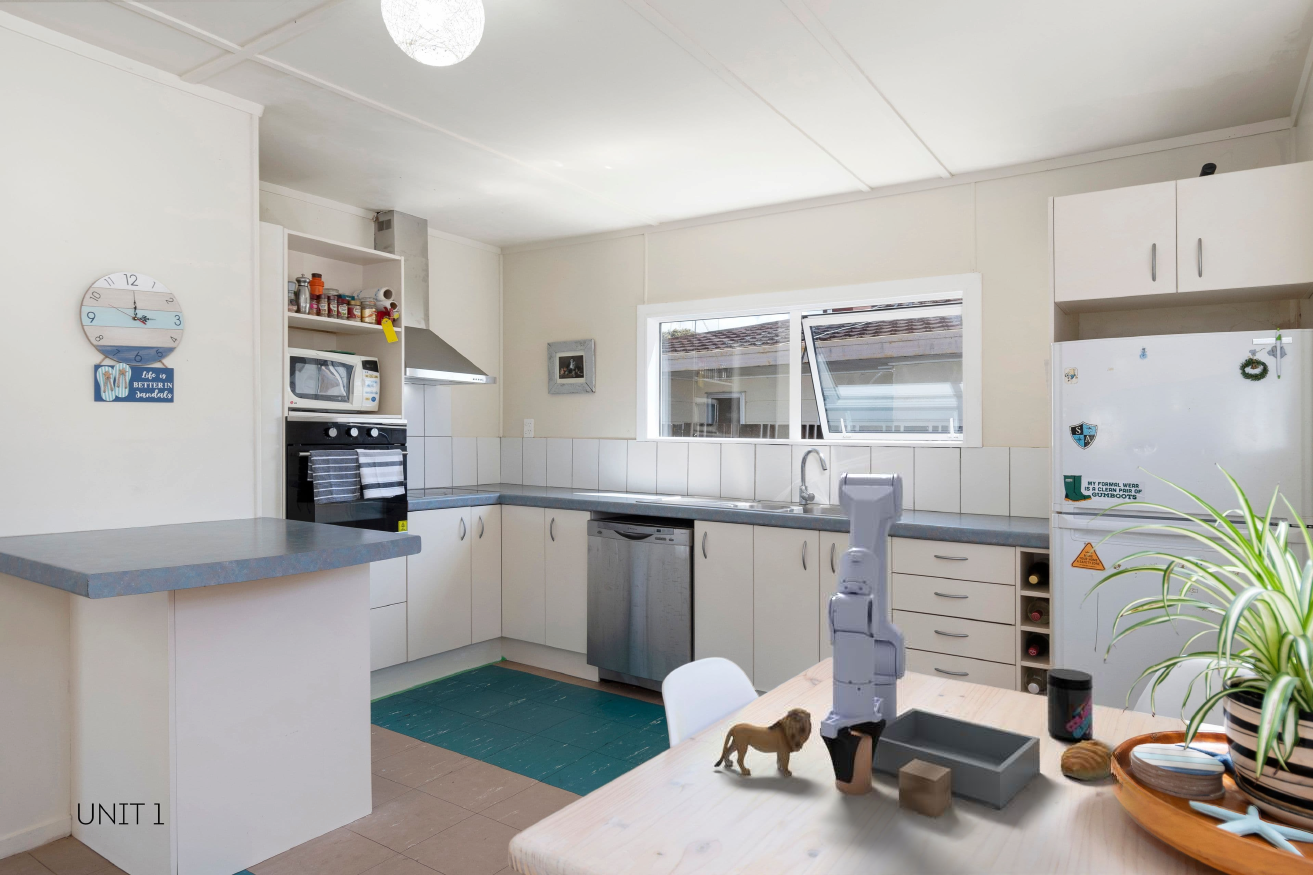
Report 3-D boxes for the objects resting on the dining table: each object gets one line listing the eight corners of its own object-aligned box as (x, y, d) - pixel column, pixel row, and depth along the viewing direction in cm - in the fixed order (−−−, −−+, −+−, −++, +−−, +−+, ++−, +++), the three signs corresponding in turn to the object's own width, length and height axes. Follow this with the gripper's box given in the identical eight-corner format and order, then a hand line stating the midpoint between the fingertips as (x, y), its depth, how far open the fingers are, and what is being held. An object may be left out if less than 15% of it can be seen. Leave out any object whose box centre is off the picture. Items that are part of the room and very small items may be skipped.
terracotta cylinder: (828, 786, 109) (828, 736, 109) (846, 775, 113) (846, 727, 113) (861, 797, 106) (861, 746, 106) (878, 785, 109) (878, 736, 110)
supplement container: (1058, 743, 125) (1058, 679, 126) (1040, 729, 132) (1039, 667, 132) (1101, 745, 125) (1100, 680, 125) (1080, 730, 132) (1080, 668, 132)
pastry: (1097, 789, 109) (1097, 761, 109) (1048, 774, 114) (1047, 748, 114) (1121, 771, 115) (1120, 745, 115) (1073, 757, 120) (1072, 733, 121)
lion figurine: (807, 761, 118) (807, 702, 118) (816, 776, 113) (816, 714, 113) (711, 763, 117) (711, 703, 117) (716, 778, 112) (716, 715, 112)
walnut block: (898, 807, 103) (898, 769, 103) (915, 795, 107) (915, 758, 107) (935, 819, 100) (935, 780, 100) (950, 806, 103) (950, 768, 103)
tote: (864, 768, 115) (864, 734, 116) (912, 738, 128) (912, 707, 128) (1000, 809, 102) (1000, 771, 102) (1039, 771, 114) (1039, 738, 114)
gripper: (853, 696, 102) (854, 800, 101) (902, 673, 112) (903, 767, 112) (807, 684, 106) (807, 784, 106) (858, 663, 117) (858, 754, 117)
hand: (853, 774), depth 109 cm, fingers closed on terracotta cylinder, 5 cm apart
